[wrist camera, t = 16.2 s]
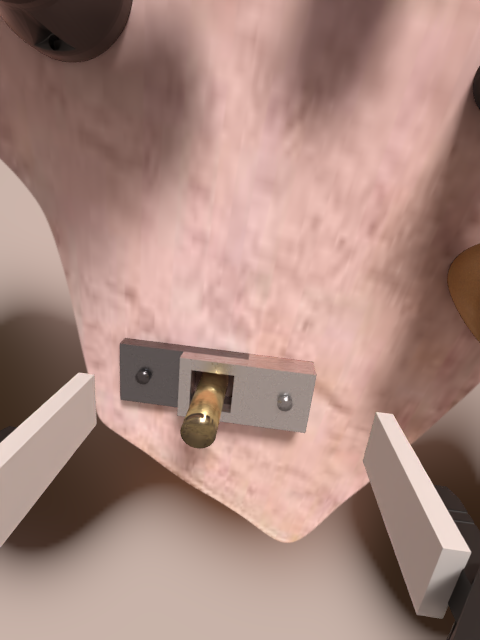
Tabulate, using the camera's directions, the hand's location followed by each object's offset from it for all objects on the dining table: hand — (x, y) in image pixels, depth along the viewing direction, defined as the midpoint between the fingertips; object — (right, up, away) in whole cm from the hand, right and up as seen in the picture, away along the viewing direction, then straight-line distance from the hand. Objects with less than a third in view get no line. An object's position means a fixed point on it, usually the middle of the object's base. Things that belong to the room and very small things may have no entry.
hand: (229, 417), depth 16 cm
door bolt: (-3, -4, +35) cm, 36 cm away
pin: (-3, -4, +35) cm, 36 cm away
